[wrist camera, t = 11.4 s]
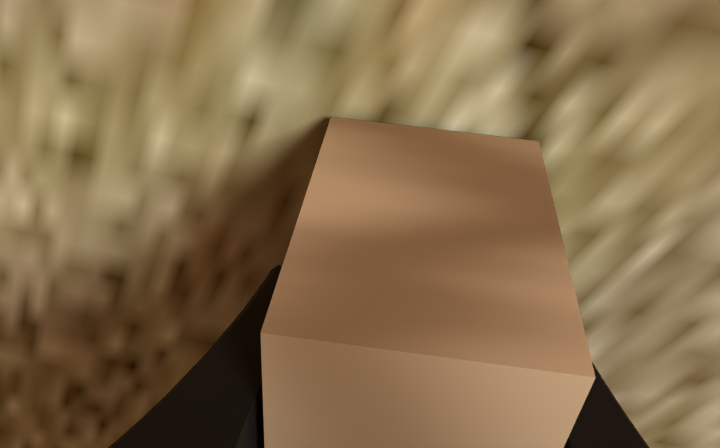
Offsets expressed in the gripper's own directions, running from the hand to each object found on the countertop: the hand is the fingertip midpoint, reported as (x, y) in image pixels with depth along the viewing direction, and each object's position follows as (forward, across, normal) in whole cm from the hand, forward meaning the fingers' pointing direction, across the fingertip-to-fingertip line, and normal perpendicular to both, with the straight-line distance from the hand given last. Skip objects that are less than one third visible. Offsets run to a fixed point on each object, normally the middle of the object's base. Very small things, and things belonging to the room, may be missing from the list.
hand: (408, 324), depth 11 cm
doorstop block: (+2, 0, 0) cm, 2 cm away
